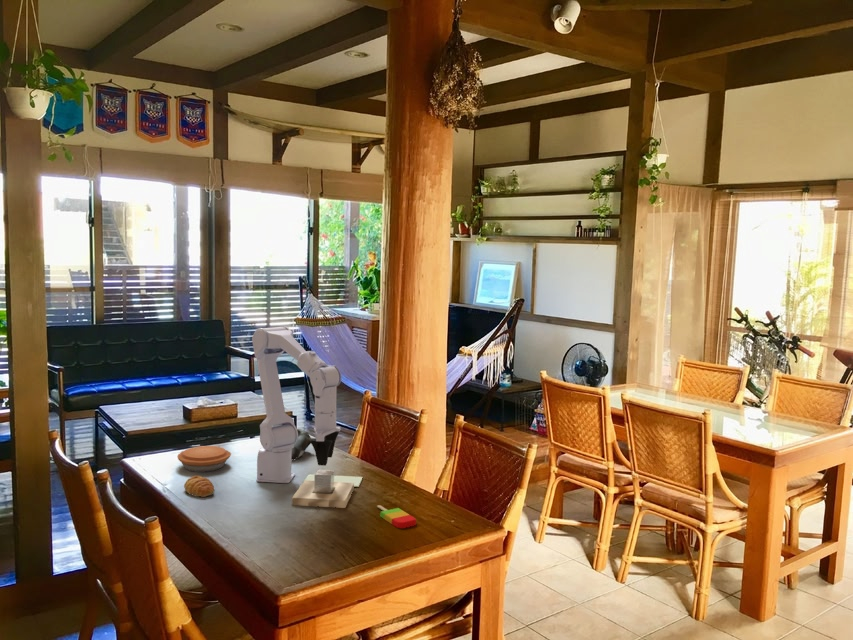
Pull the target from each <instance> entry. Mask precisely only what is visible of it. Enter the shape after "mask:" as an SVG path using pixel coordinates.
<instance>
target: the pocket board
mask: <svg viewBox="0 0 853 640" xmlns="http://www.w3.org/2000/svg"><path fill="white" fill-rule="evenodd" d="M354 490H355V489H354V483H345V482H334V491H333V493H332V494H322V493H314V481H307V480H305V479H304V480H303V482H302V483H301V484H300V486H299V487H298V488H297V490H296V492H295V493H294V494H293V496H292V497H291V505H292V506H300V507H301V506H302V507H317V506H319V508H321V507H322V508H323V507H324V508H335V507H336V508H338V509H346V507H347V505H348V503H349V501H350V499H351V496H352V495H353V493H354ZM352 492H353V493H352ZM351 494H352V495H351Z"/></svg>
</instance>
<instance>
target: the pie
mask: <svg viewBox="0 0 853 640" xmlns="http://www.w3.org/2000/svg"><path fill="white" fill-rule="evenodd" d="M231 456H232V453H231V452H230V451H229V450H227V449H226V448H224V447H220V446H214V445H200V446H195V447H190V448H187V449H185V450H183V451H181V452H180V453H178V454H177V460H178V461H179V462H181V465H182V467H184V469H185V468H186V469H185V470H187V471H189V470H190V471H189V472H195V471H199V472H198V473H200V472H201V473H203V471H207V472H212V471H216V470H219V469H221V468H223V467H224V465H225V464H226V462H227V460H228V459H230V457H231Z"/></svg>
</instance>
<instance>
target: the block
mask: <svg viewBox="0 0 853 640" xmlns="http://www.w3.org/2000/svg"><path fill="white" fill-rule="evenodd" d="M314 474H315V481H314V493H322V494H332V493H333V491H334V475H335V470H334V469H317V471H316V472H315V473H314Z"/></svg>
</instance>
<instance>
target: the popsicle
mask: <svg viewBox="0 0 853 640" xmlns="http://www.w3.org/2000/svg"><path fill="white" fill-rule="evenodd" d="M376 507H377V508H378V509H380V510H381V511H380V512H379V516H380V518H382V519H383V520H385V521H386V522H388V523H389V524H391V525H392V526H394V527H395V528H397V529H406V527H407V528H411V527H415V526H416V525H417V519H416V518H415V517H414V516H413V515H411V514H409V513H407V512H406V511H404V510H402V509H401V508H399V507H396V508H392V509H387V508H385V507H384V506H382V505H381V504H379V505H376ZM414 525H415V526H414ZM410 526H411V527H410Z"/></svg>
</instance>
